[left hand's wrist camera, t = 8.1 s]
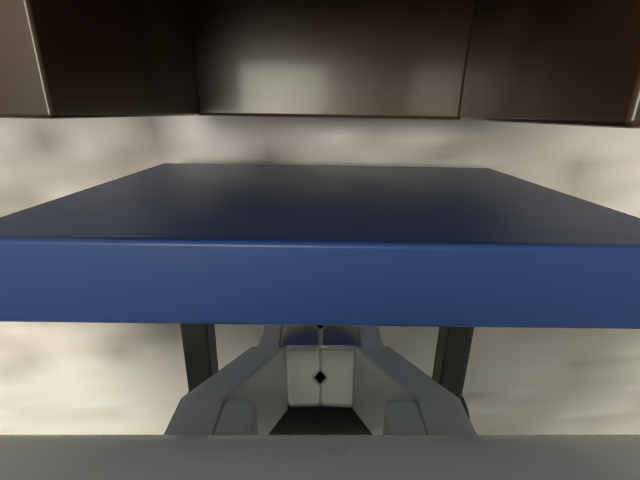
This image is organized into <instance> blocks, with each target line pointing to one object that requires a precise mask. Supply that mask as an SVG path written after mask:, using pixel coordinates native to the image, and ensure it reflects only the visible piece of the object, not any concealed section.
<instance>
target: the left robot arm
mask: <svg viewBox="0 0 640 480" xmlns="http://www.w3.org/2000/svg"><path fill="white" fill-rule="evenodd" d="M288 407H353V410H354V411H355V412H356V414H357V415H358V416H359V418H360V419H361V420H362V421H363V423H364V424H365V425H366V427H367V428H368V429H369V431H370V432H371V433H372V434H373V435H268V434H269V433H270V431H271V430H272V429H273V428H274V426H275V425H276V424H277V422H278V421H279V420H280V419H281V417H282V416H283V415H284V413H285V412H286V411H287V410H288ZM0 480H640V435H477V434H476V432H475V430H474V428H473V426H472V424H471V422H470V419H469V417H468V415H467V413H466V411H465V409H464V407H463V405H462V403H461V401H460V399H459V398H458V397H457V396H455V395H454V394H453V393H451V392H450V391H448V390H447V389H446V388H444V387H443V386H442V385H440V384H439V383H437V382H436V381H435V380H433V379H432V378H431V377H429V376H428V375H426V374H425V373H424V372H422V371H421V370H420V369H418V368H417V367H416V366H414V365H413V364H411V363H410V362H409V361H407V360H406V359H405V358H403V357H402V356H400V355H399V354H398V353H396V352H395V351H394V350H392V349H391V348H389V347H383V344H382V340H381V336H380V333H379V329H378V326H359V325H273V324H263V326H262V330H261V334H260V338H259V342H258V346H257V347H251V348H250V349H248V350H247V351H246V352H244V353H243V354H241V355H240V356H239V357H237V358H236V359H235V360H233V361H232V362H230V363H229V364H228V365H226V366H225V367H224V368H222V369H221V370H219V371H218V372H217V373H215V374H214V375H213V376H211V377H210V378H208V379H207V380H206V381H204V382H203V383H202V384H200V385H199V386H197V387H196V388H195V389H193V390H192V391H190V392H189V393H188V394H186V395H185V396H184V397H182V398H181V400H180V402H179V404H178V406H177V408H176V411H175V413H174V415H173V417H172V419H171V421H170V423H169V425H168V427H167V429H166V431H165V434H164V435H0Z"/></svg>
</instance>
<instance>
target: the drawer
mask: <svg viewBox="0 0 640 480" xmlns="http://www.w3.org/2000/svg"><path fill="white" fill-rule="evenodd" d="M190 115H210V116H270V117H330V118H389V119H449V120H476V121H496V122H516V123H536V124H555V125H575V126H595V127H615V128H640V0H0V118H41V119H60V118H104V117H147V116H190ZM0 321H16V322H102V323H180V325H181V333H182V341H183V348H184V356H185V364H186V371H187V379H188V387H189V392H190V391H192V390H193V389H195V388H196V387H197V386H199V385H200V384H202V383H203V382H204V381H206V380H207V379H208V378H210V377H211V376H213V375H214V374H215V373H217V372H218V360H217V350H216V339H215V328H214V324H273V325H359V326H440V327H439V334H438V341H437V348H436V355H435V361H434V368H433V375H432V379H433V380H435V381H436V382H437V383H439V384H440V385H442V386H443V387H444V388H446V389H447V390H448V391H450V392H451V393H453V394H454V395H455V396H457V397H458V398H459V399H460V401H461V403H462V405H463V407H464V409H465V411H466V413H467V415H468V417H469V413H468V409H467V406H466V403H465V400H464V398H463V396H462V391H463V386H464V380H465V375H466V369H467V364H468V358H469V353H470V347H471V342H472V336H473V331H474V327H530V328H616V329H640V218H637V217H634V216H631V215H628V214H625V213H622V212H619V211H616V210H613V209H610V208H607V207H604V206H601V205H598V204H595V203H592V202H589V201H586V200H583V199H579V198H576V197H573V196H570V195H567V194H564V193H561V192H558V191H555V190H552V189H549V188H546V187H543V186H540V185H537V184H534V183H531V182H528V181H525V180H522V179H519V178H516V177H513V176H510V175H507V174H504V173H501V172H498V171H494V170H491V169H488V168H427V167H363V166H299V165H235V164H171V163H164V164H161V165H158V166H155V167H152V168H149V169H146V170H143V171H140V172H137V173H134V174H131V175H128V176H125V177H122V178H119V179H116V180H113V181H110V182H107V183H104V184H101V185H98V186H95V187H92V188H89V189H86V190H83V191H80V192H76V193H73V194H70V195H67V196H64V197H61V198H58V199H55V200H52V201H49V202H46V203H43V204H40V205H37V206H34V207H31V208H28V209H25V210H22V211H19V212H16V213H13V214H10V215H7V216H4V217H1V218H0ZM189 392H188V393H189ZM469 419H470V418H469ZM268 435H373V434H372V433H371V432H370V431H369V429H368V428H367V427H366V425H365V424H364V423H363V421H362V420H361V419H360V418H359V416H358V415H357V414H356V412H355V411H354V410H353V407H288V410H287V411H286V412H285V413H284V415H283V416H282V417H281V419H280V420H279V421H278V422H277V424H276V425H275V426H274V428H273V429H272V430H271V431H270V433H269V434H268Z"/></svg>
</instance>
